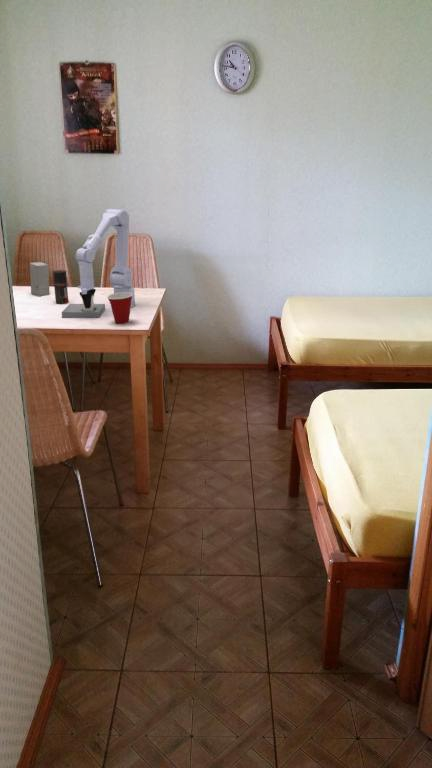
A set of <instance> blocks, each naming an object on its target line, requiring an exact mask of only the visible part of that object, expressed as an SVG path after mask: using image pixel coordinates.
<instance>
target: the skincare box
mask: <svg viewBox="0 0 432 768" xmlns="http://www.w3.org/2000/svg"><path fill="white" fill-rule="evenodd" d="M49 269H50V268H49V264H47V263H45V262H41V261H39V262H38V261H37V262H30V263H29V274H30V275H29V276H30V278H29V279H30V294H31V295H33V296H37V297H44V296H50V295H51V294H50V272H49V271H50V270H49Z"/></svg>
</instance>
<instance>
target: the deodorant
mask: <svg viewBox="0 0 432 768" xmlns="http://www.w3.org/2000/svg"><path fill="white" fill-rule="evenodd" d="M52 277H53V278H52V279H53V288H54V297H55V298H54V299H55V304H56V305H65V304H69V294H68V293H69V292H68V282H67V271H66V270H61V269H60V270H58V269H57V270H53V271H52Z"/></svg>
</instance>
